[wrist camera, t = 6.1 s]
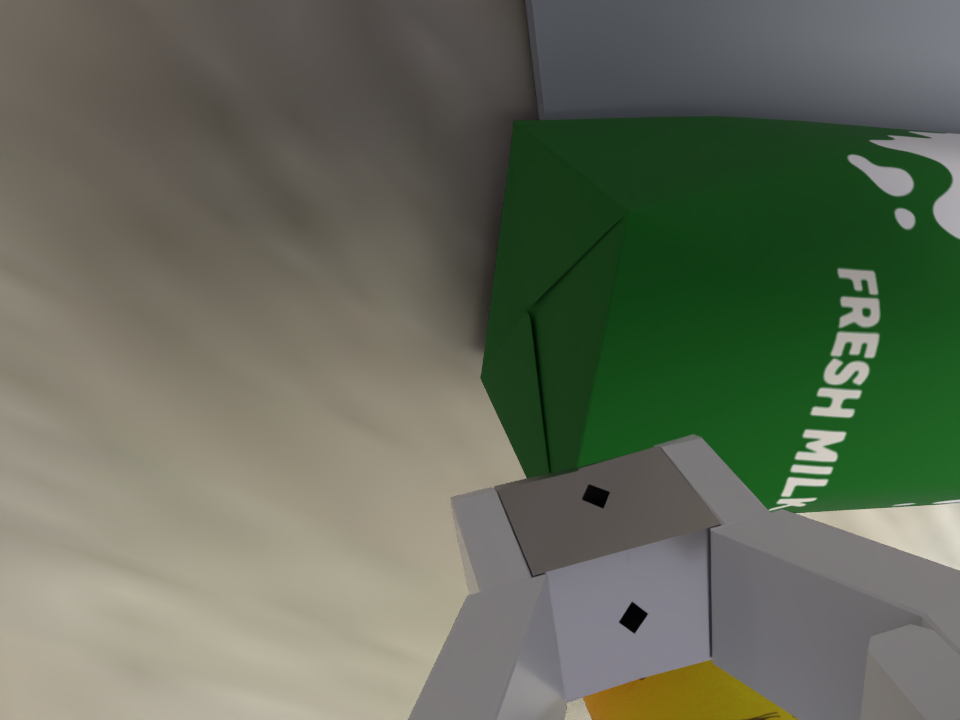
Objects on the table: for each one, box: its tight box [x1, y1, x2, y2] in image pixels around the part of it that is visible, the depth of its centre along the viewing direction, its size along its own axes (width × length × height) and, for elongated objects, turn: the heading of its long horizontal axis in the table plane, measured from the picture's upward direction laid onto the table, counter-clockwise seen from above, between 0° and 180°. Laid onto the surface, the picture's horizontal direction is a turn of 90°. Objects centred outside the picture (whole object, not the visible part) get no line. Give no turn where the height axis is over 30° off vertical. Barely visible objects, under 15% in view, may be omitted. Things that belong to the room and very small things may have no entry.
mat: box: [525, 0, 960, 134], centre depth 23 cm, size 16×22×1 cm
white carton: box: [480, 116, 960, 513], centre depth 20 cm, size 9×9×20 cm
